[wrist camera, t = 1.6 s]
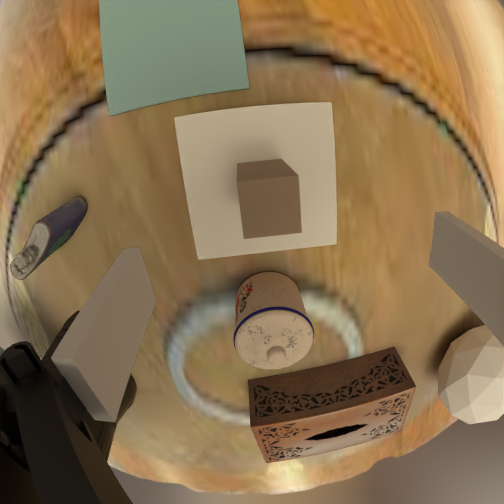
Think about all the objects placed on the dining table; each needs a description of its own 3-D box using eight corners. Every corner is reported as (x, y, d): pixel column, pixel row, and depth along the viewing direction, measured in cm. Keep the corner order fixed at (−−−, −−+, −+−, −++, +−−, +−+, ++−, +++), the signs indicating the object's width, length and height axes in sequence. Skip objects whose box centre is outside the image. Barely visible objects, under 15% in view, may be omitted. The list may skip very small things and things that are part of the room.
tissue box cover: (262, 421, 54) (266, 463, 45) (248, 378, 48) (250, 426, 39) (385, 393, 53) (401, 430, 44) (393, 345, 47) (416, 386, 38)
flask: (78, 191, 33) (27, 223, 23) (94, 208, 34) (48, 246, 24) (43, 238, 36) (-2, 278, 25) (58, 254, 37) (15, 298, 26)
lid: (199, 254, 31) (186, 306, 23) (176, 117, 25) (148, 118, 17) (333, 239, 31) (364, 285, 23) (327, 102, 25) (366, 98, 17)
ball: (431, 342, 57) (411, 425, 45) (475, 287, 43) (467, 390, 31) (492, 364, 50) (480, 442, 38) (542, 317, 36) (544, 411, 24)
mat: (111, 115, 30) (109, 115, 29) (101, 1, 23) (99, 0, 22) (249, 88, 30) (249, 88, 29) (232, -30, 23) (232, -32, 22)
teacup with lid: (236, 266, 39) (236, 324, 28) (306, 270, 39) (328, 326, 29) (231, 338, 44) (230, 400, 33) (291, 340, 45) (304, 400, 34)
